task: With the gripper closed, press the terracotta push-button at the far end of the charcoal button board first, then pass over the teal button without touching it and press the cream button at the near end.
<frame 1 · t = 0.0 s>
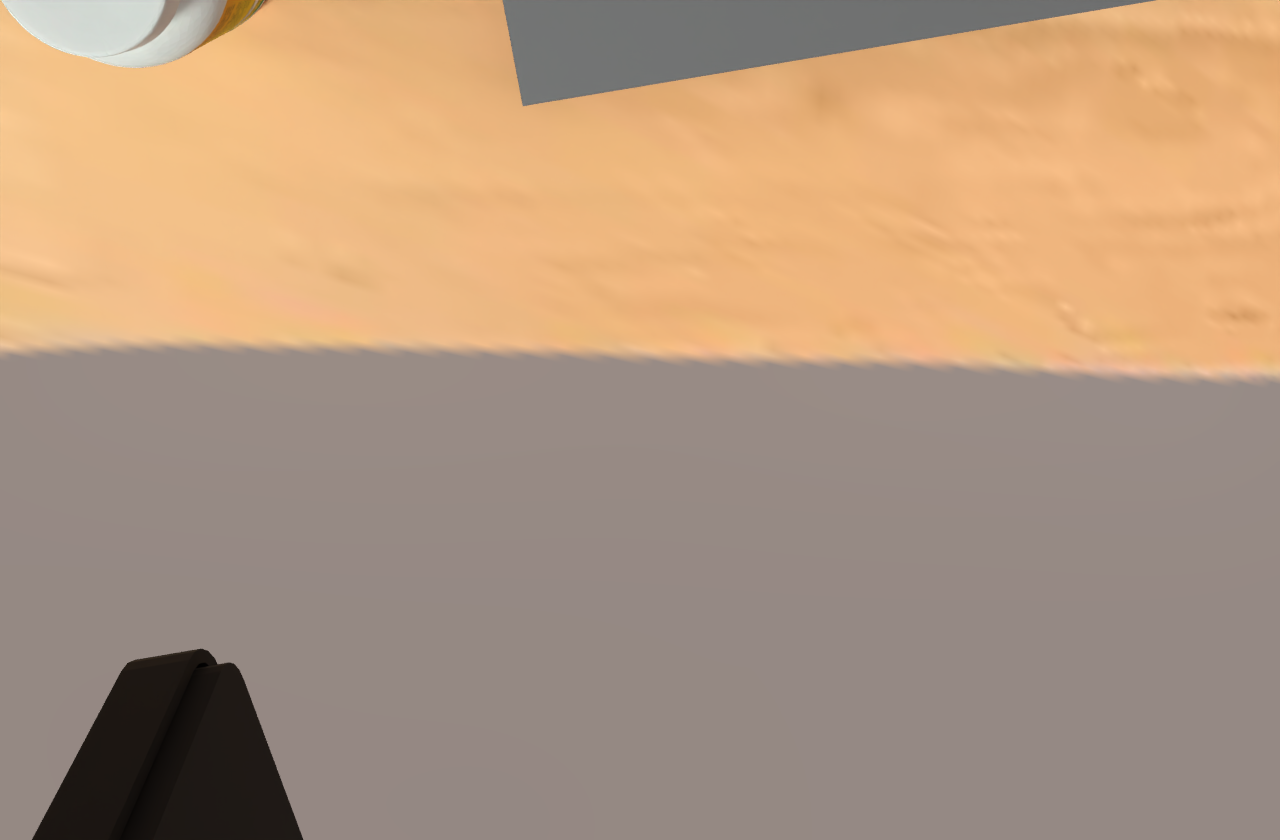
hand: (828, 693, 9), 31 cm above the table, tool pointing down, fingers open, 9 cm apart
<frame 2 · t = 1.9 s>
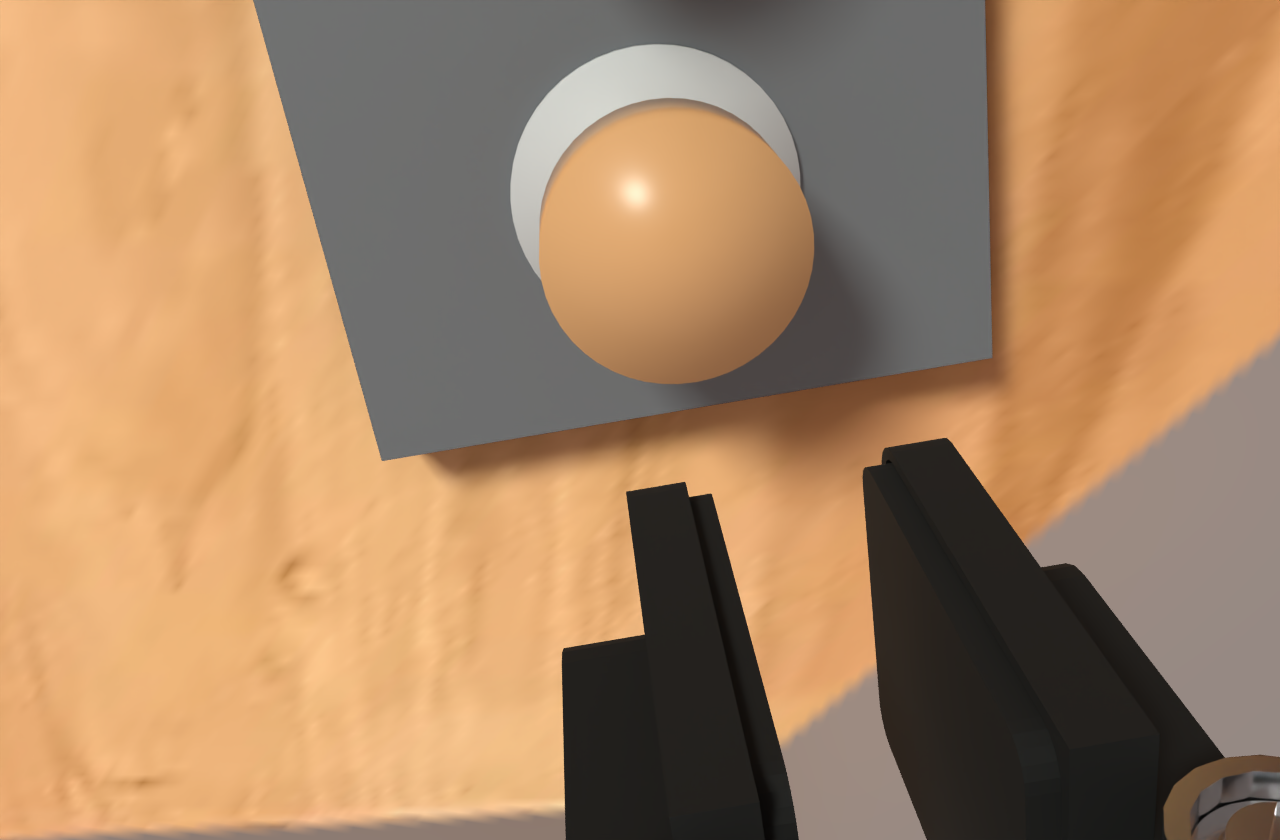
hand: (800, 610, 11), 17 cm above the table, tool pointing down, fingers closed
terracotta button: (669, 234, 21), point 5 cm above the table, slide at 0.0 cm
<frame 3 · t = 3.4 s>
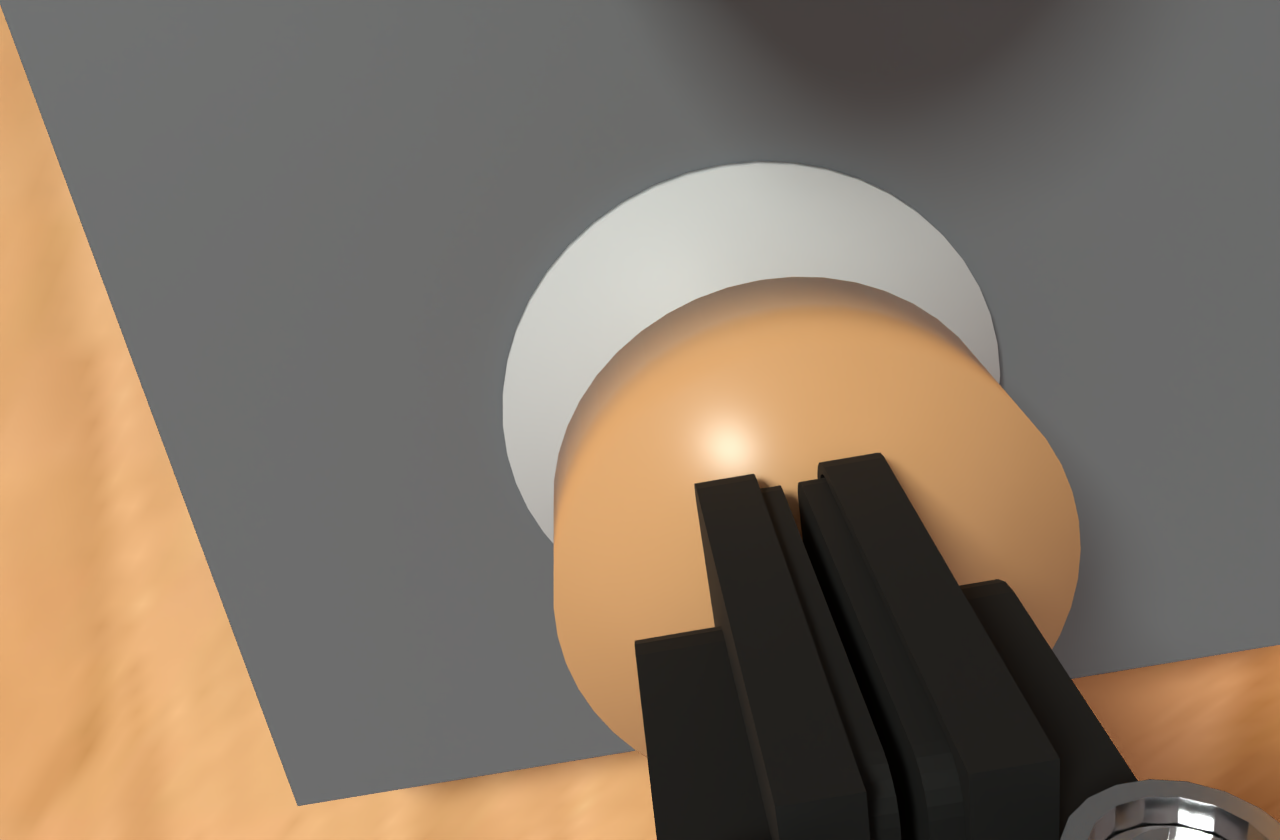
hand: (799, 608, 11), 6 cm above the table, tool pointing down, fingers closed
terracotta button: (790, 515, 12), point 5 cm above the table, slide at 0.4 cm, touching gripper
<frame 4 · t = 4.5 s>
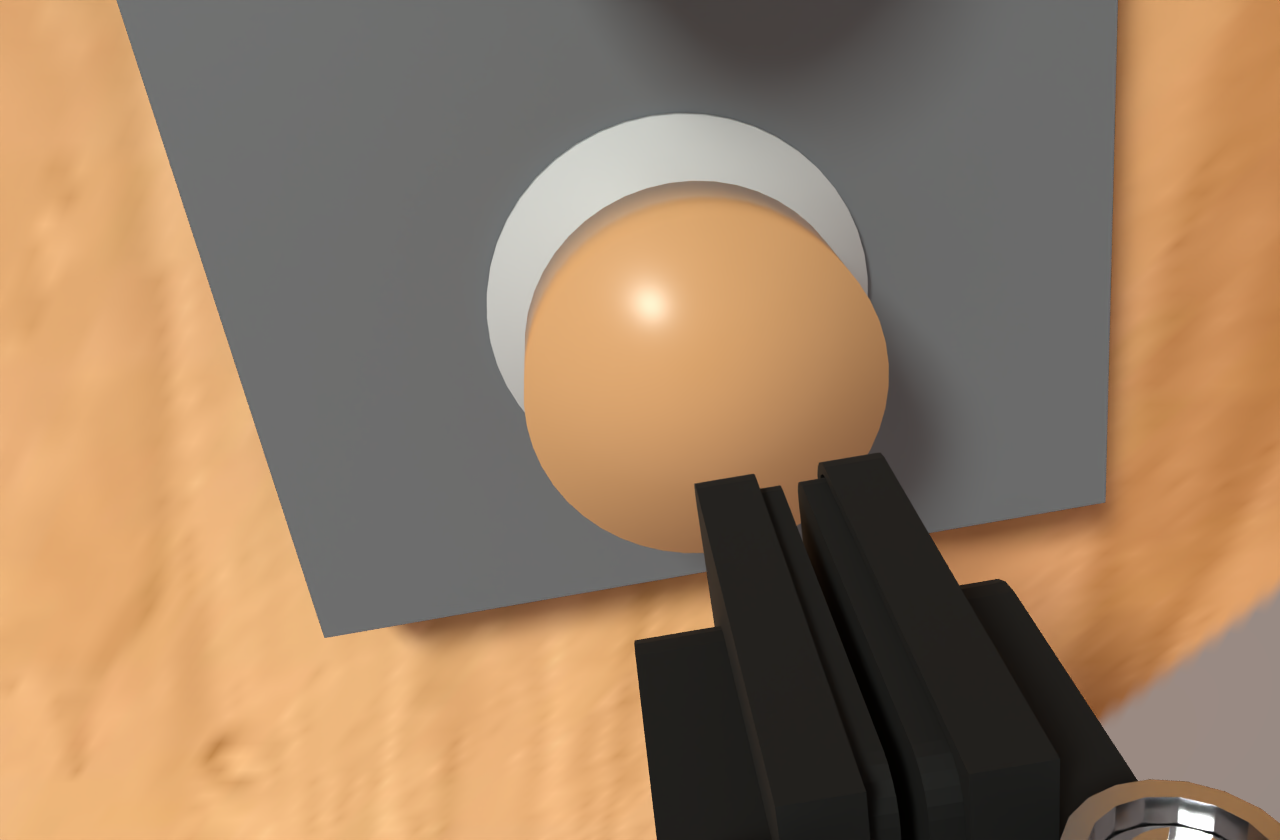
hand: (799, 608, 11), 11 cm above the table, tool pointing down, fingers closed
terracotta button: (694, 355, 16), point 4 cm above the table, slide at 0.8 cm
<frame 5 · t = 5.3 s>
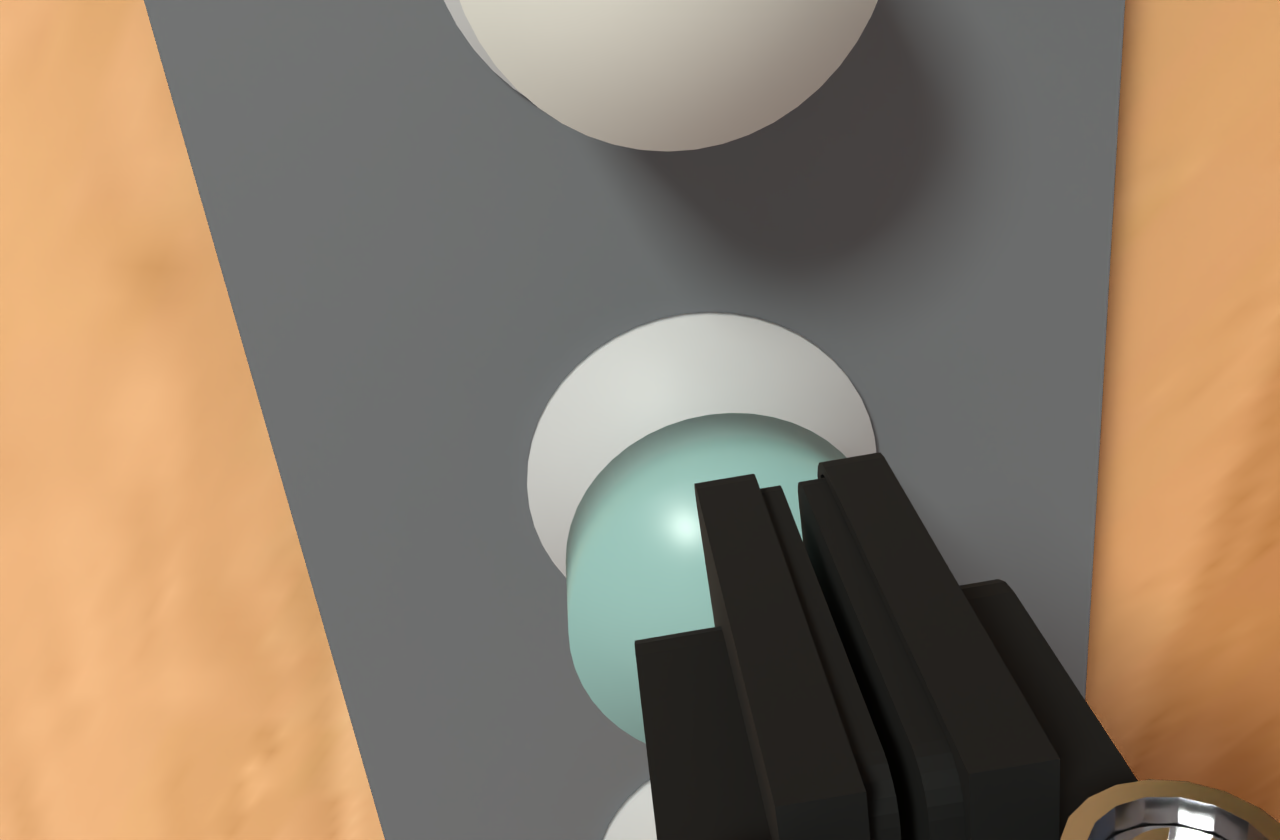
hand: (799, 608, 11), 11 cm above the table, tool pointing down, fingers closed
button board: (688, 426, 22), on the table
teal button: (727, 570, 17), point 5 cm above the table, slide at 0.0 cm
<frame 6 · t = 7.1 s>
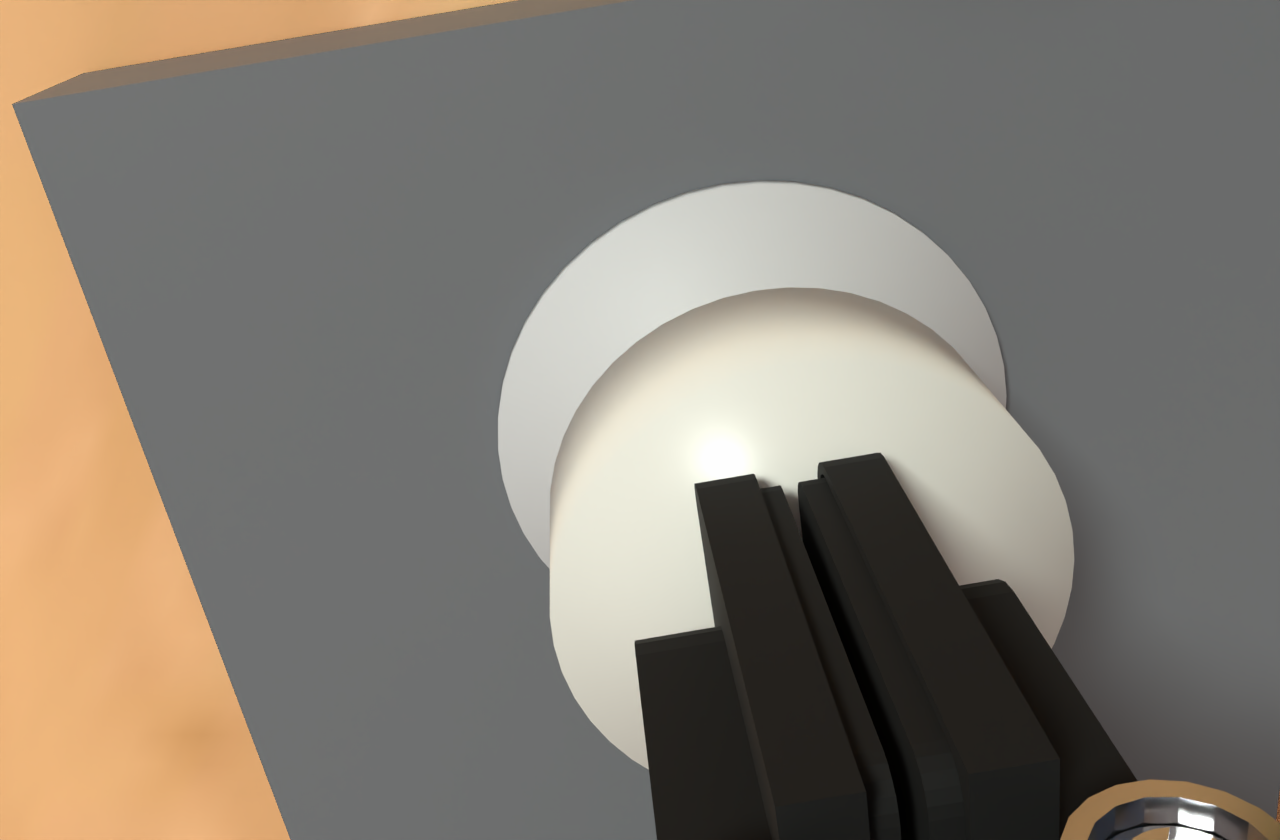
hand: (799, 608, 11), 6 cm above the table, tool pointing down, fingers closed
cream button: (785, 524, 12), point 4 cm above the table, slide at 0.8 cm, touching gripper
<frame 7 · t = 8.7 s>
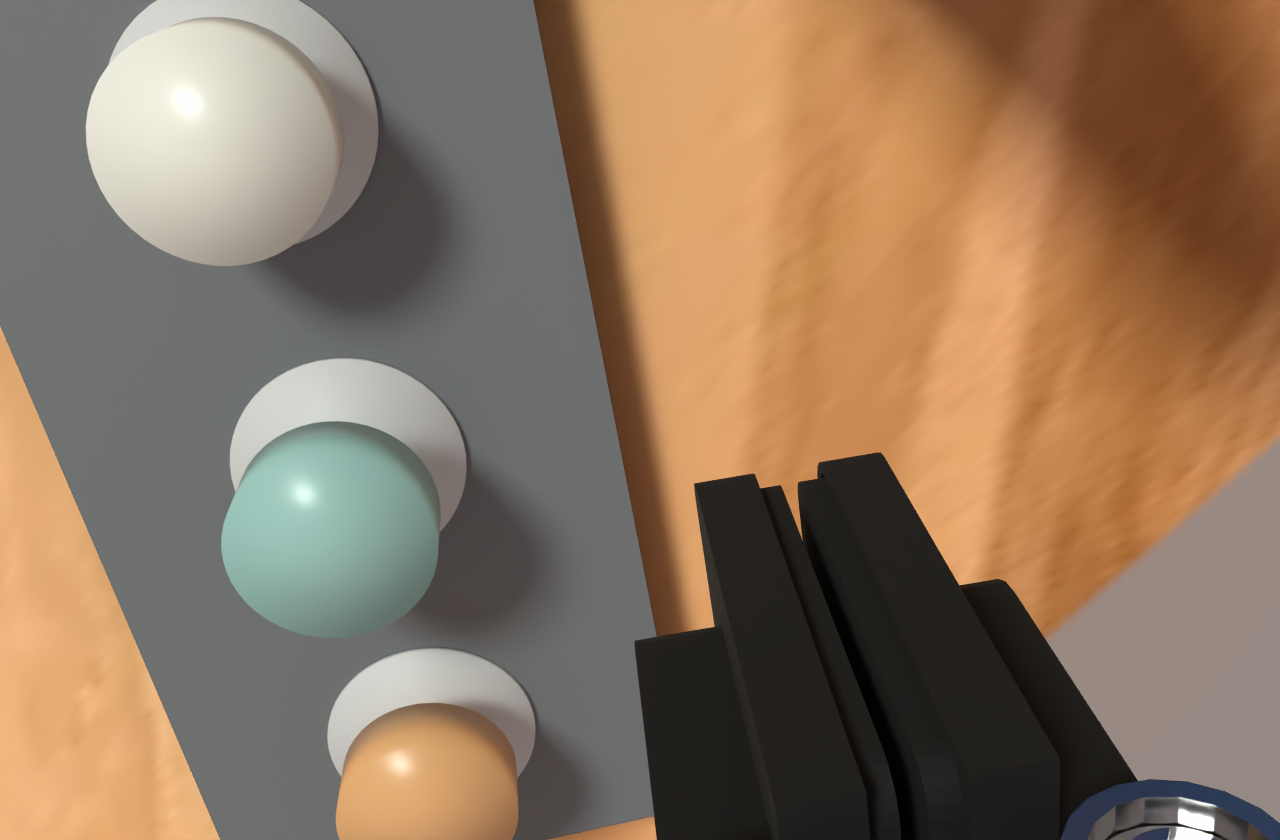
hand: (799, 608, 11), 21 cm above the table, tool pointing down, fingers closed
cream button: (226, 137, 25), point 4 cm above the table, slide at 0.9 cm
button board: (357, 432, 32), on the table
terracotta button: (430, 782, 32), point 4 cm above the table, slide at 0.8 cm
teal button: (338, 519, 28), point 5 cm above the table, slide at 0.0 cm
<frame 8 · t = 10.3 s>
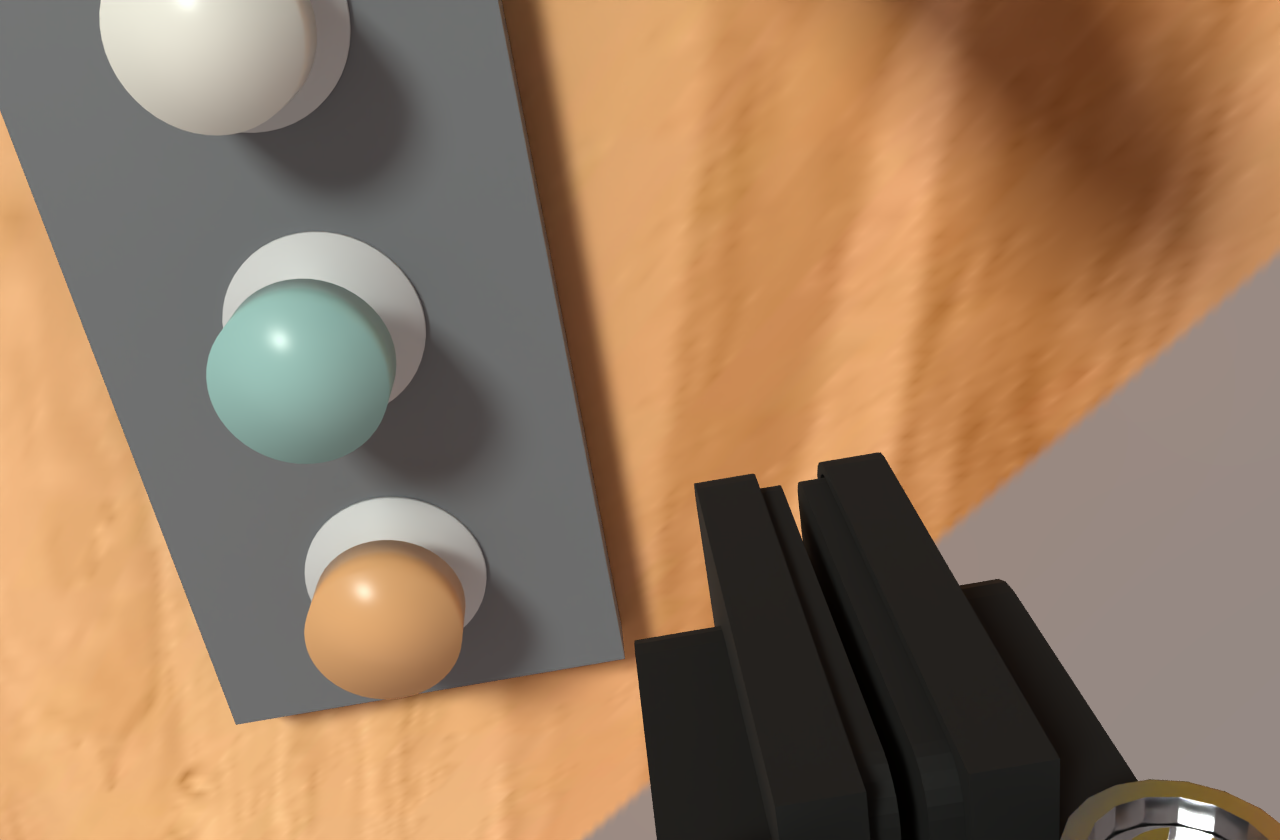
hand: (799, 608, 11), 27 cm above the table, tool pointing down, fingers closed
cream button: (217, 28, 30), point 4 cm above the table, slide at 0.9 cm
button board: (336, 305, 37), on the table
terracotta button: (389, 611, 37), point 4 cm above the table, slide at 0.8 cm
teal button: (307, 364, 33), point 5 cm above the table, slide at 0.0 cm
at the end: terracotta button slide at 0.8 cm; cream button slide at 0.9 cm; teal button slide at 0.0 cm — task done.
